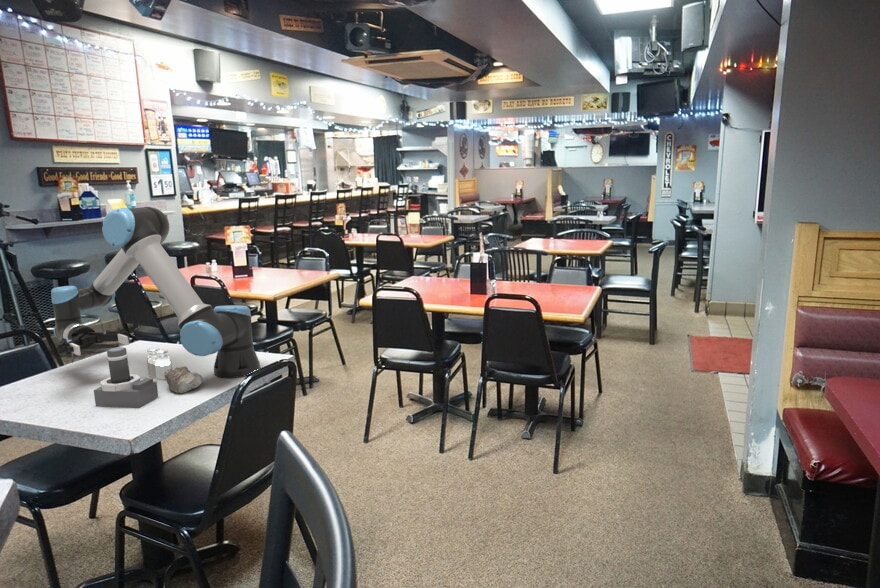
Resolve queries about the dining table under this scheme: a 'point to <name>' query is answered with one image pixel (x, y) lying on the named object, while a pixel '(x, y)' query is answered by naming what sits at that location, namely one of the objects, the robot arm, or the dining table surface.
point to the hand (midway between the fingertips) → (103, 345)
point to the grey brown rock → (182, 379)
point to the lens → (118, 365)
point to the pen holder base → (126, 393)
